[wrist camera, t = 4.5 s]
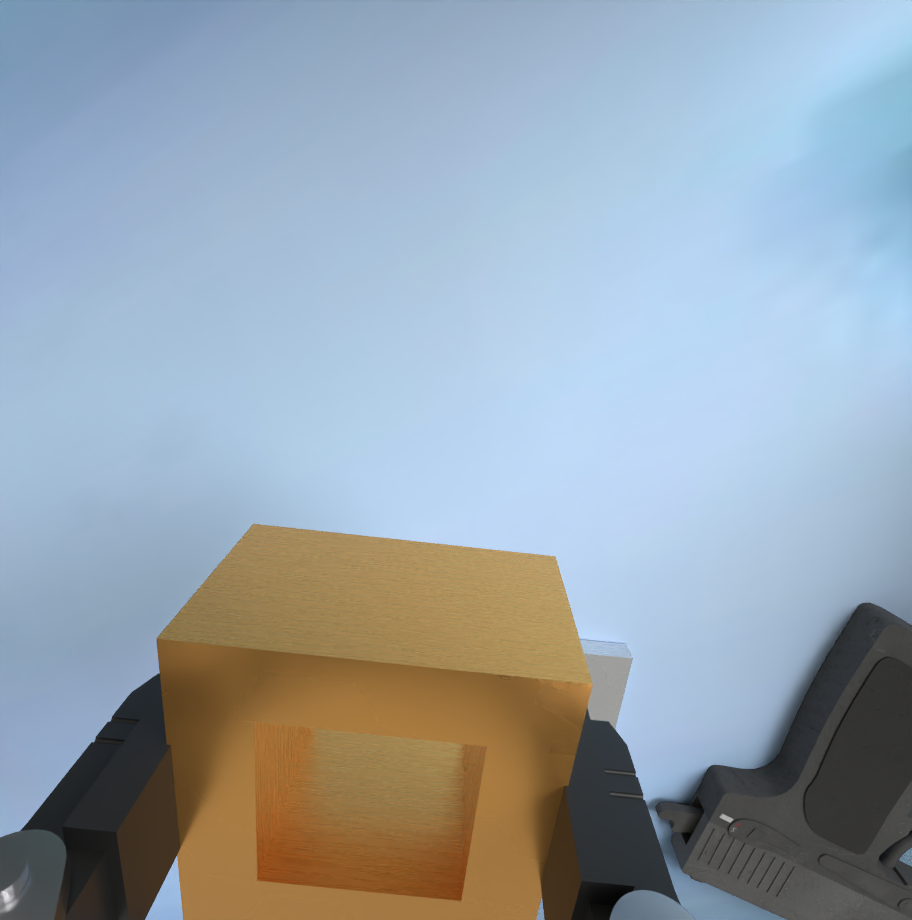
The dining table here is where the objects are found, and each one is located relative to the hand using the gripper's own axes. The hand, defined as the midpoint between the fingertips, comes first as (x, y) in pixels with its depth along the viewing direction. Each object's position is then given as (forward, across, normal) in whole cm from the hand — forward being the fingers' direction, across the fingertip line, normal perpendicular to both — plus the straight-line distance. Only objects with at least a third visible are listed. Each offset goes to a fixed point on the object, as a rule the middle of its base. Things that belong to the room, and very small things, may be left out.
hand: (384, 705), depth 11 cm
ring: (+1, 0, 0) cm, 1 cm away
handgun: (+14, -27, +16) cm, 35 cm away
